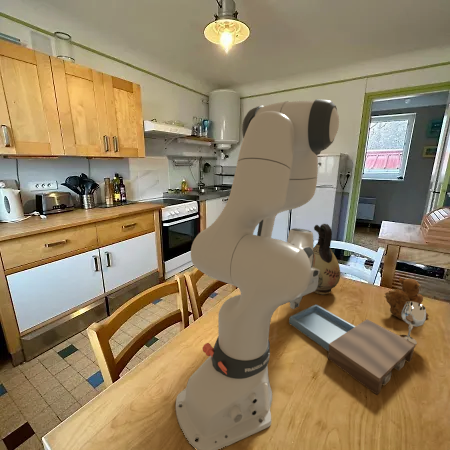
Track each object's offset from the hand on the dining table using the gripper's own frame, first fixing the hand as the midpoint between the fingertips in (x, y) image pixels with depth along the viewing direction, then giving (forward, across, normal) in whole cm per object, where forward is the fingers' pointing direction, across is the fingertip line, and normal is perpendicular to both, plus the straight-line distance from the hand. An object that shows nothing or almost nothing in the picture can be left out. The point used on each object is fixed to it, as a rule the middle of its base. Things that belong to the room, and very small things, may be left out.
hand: (294, 307), depth 88 cm
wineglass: (+2, +18, -29) cm, 35 cm away
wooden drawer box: (+2, 0, -27) cm, 27 cm away
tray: (+2, 0, -13) cm, 13 cm away
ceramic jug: (+2, +21, +5) cm, 22 cm away
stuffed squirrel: (+2, +32, -23) cm, 39 cm away
